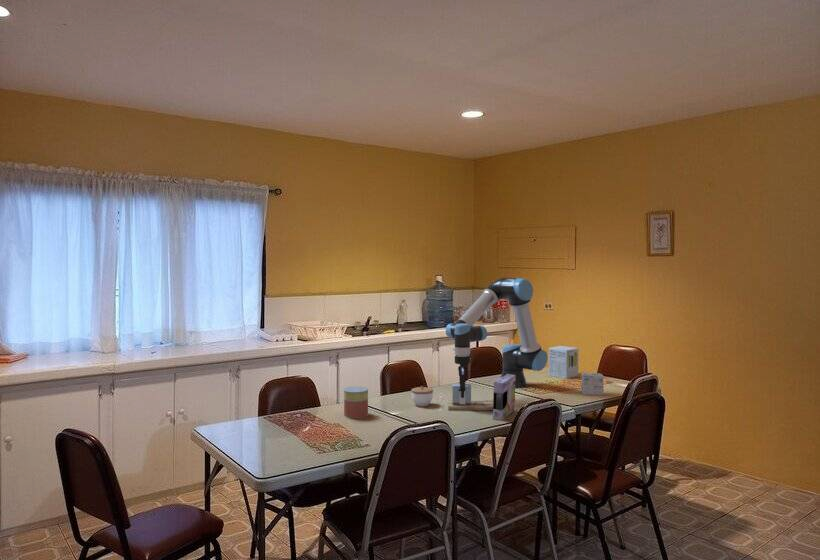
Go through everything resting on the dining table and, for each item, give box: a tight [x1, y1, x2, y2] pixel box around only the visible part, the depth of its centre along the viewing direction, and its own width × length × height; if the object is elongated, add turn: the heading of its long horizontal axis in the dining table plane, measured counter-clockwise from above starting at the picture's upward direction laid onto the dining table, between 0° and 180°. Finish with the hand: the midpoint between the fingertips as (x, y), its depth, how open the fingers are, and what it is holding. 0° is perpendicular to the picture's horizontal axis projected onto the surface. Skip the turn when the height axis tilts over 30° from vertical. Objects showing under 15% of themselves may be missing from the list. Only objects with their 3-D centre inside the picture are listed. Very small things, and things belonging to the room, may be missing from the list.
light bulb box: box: [581, 372, 605, 396], centre depth 310 cm, size 11×7×11 cm, turn 84°
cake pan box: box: [492, 374, 516, 421], centre depth 268 cm, size 19×5×18 cm, turn 151°
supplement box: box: [548, 345, 579, 380], centre depth 357 cm, size 13×13×18 cm
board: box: [447, 399, 493, 411], centre depth 283 cm, size 13×26×2 cm, turn 86°
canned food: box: [343, 386, 369, 419], centre depth 270 cm, size 11×11×12 cm
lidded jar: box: [410, 385, 434, 407], centre depth 288 cm, size 11×11×9 cm
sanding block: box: [452, 383, 472, 405], centre depth 283 cm, size 5×9×9 cm, turn 86°
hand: (462, 402), depth 284 cm, fingers closed on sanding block, 5 cm apart
